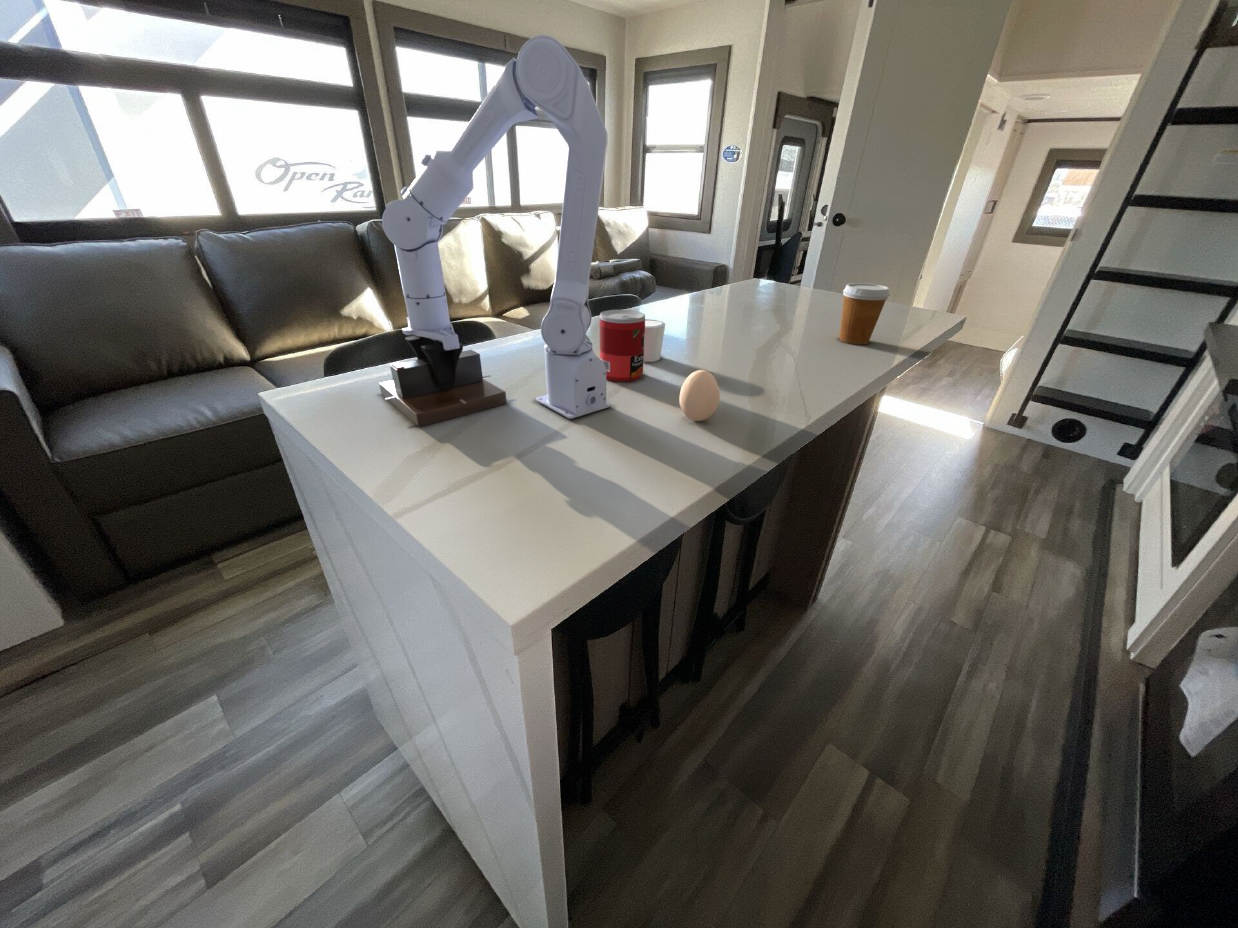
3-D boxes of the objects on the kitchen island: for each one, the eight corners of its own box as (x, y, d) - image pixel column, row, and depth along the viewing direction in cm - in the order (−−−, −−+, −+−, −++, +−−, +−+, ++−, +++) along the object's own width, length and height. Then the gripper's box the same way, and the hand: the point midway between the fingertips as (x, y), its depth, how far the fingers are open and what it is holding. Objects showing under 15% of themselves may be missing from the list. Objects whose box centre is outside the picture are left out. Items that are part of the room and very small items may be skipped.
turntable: (517, 402, 78) (516, 389, 77) (409, 431, 68) (405, 417, 67) (469, 374, 89) (467, 362, 88) (370, 395, 79) (366, 383, 78)
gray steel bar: (474, 376, 82) (471, 348, 80) (483, 380, 80) (479, 352, 78) (396, 393, 75) (389, 363, 72) (403, 399, 73) (396, 368, 70)
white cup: (669, 356, 100) (671, 321, 97) (652, 365, 95) (654, 329, 92) (640, 350, 103) (641, 317, 100) (622, 358, 98) (623, 323, 95)
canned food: (639, 384, 86) (641, 320, 80) (595, 380, 87) (594, 317, 82) (645, 370, 92) (648, 310, 87) (604, 367, 94) (604, 308, 88)
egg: (722, 427, 71) (728, 376, 67) (683, 429, 70) (688, 378, 66) (709, 411, 76) (715, 363, 72) (673, 412, 75) (677, 364, 71)
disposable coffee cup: (836, 345, 110) (850, 289, 104) (828, 334, 118) (840, 282, 112) (881, 347, 108) (897, 291, 102) (869, 336, 116) (884, 283, 111)
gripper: (380, 290, 73) (398, 377, 80) (416, 307, 64) (434, 404, 70) (426, 285, 77) (440, 368, 84) (467, 300, 68) (479, 393, 74)
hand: (440, 384), depth 77 cm, fingers open, 4 cm apart
